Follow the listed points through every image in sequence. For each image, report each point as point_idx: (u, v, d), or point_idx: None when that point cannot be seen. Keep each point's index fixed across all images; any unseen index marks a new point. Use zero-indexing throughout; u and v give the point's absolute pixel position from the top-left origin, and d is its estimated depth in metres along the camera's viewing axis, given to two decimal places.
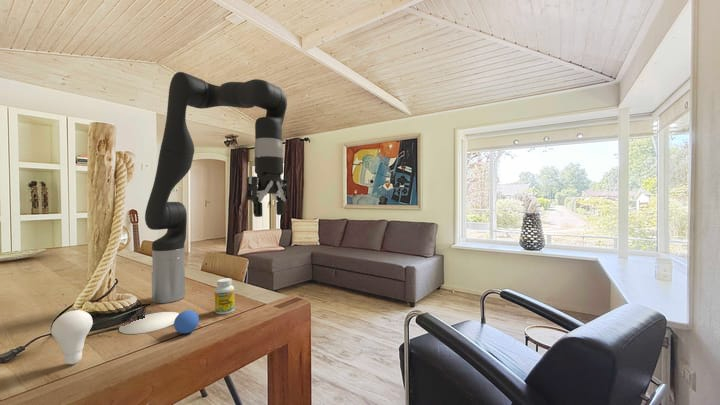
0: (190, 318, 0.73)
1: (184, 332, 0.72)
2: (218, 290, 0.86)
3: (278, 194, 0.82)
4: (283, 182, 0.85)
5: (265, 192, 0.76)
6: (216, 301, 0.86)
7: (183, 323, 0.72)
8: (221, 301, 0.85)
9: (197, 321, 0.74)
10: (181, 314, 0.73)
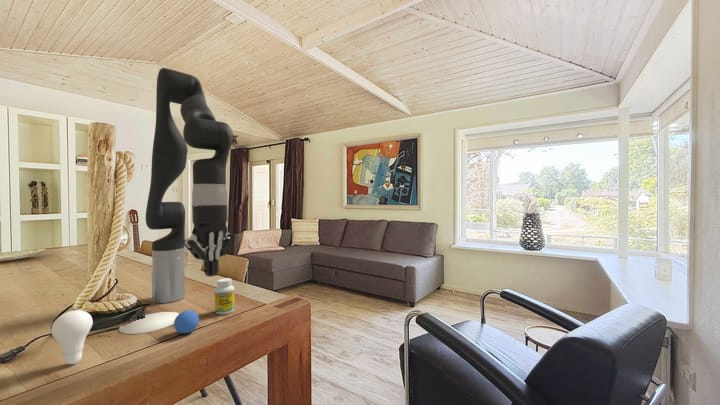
0: (190, 318, 0.73)
1: (184, 332, 0.72)
2: (218, 290, 0.86)
3: (214, 247, 0.70)
4: (228, 235, 0.74)
5: (211, 248, 0.68)
6: (216, 301, 0.86)
7: (183, 323, 0.72)
8: (221, 301, 0.85)
9: (197, 321, 0.74)
10: (181, 314, 0.73)
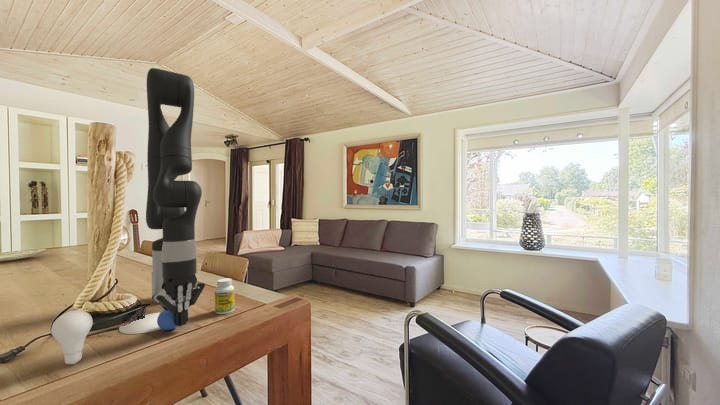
0: None
1: (167, 316, 0.74)
2: (218, 290, 0.86)
3: (183, 298, 0.75)
4: (197, 285, 0.79)
5: (180, 300, 0.73)
6: (216, 301, 0.86)
7: (158, 316, 0.75)
8: (221, 301, 0.85)
9: None
10: None
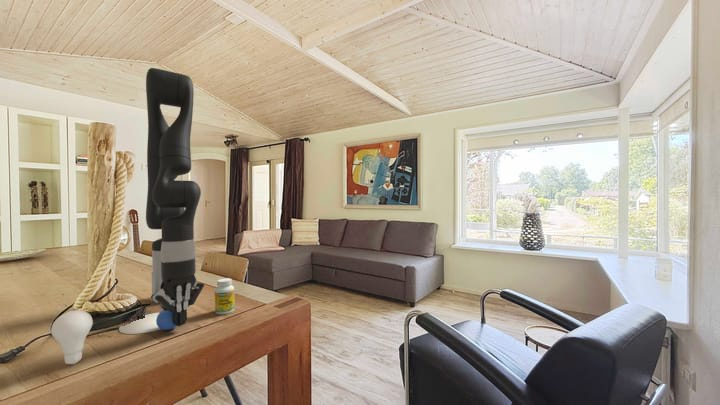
0: None
1: (166, 315, 0.74)
2: (218, 290, 0.86)
3: (182, 298, 0.75)
4: (197, 285, 0.79)
5: (179, 300, 0.73)
6: (216, 301, 0.86)
7: (157, 316, 0.75)
8: (221, 301, 0.85)
9: None
10: None
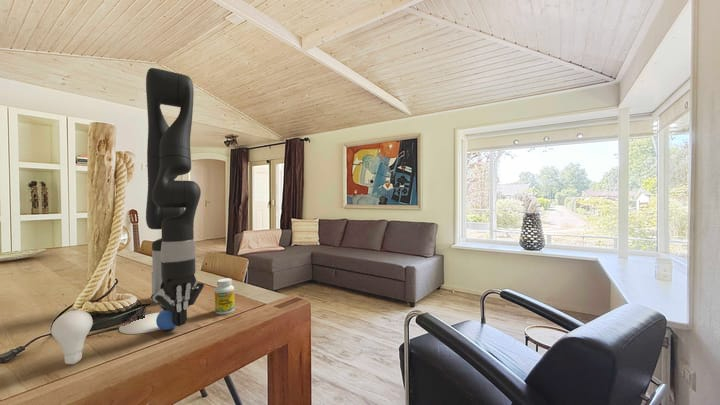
0: None
1: (166, 315, 0.74)
2: (218, 290, 0.86)
3: (182, 298, 0.75)
4: (196, 285, 0.79)
5: (179, 300, 0.73)
6: (216, 301, 0.86)
7: (157, 316, 0.75)
8: (221, 301, 0.85)
9: None
10: None
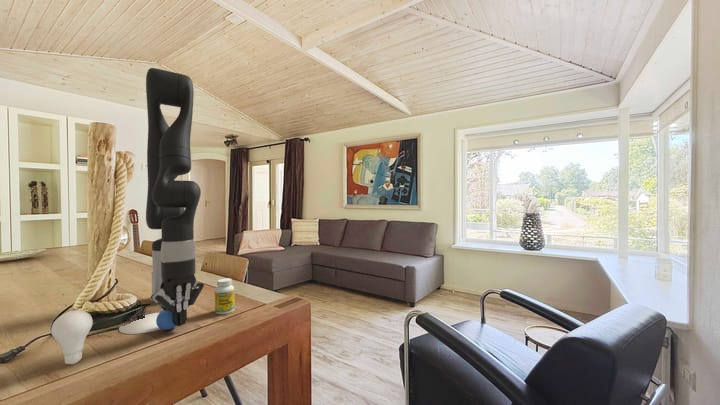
0: None
1: (166, 315, 0.74)
2: (218, 290, 0.86)
3: (182, 298, 0.75)
4: (196, 285, 0.79)
5: (179, 300, 0.73)
6: (216, 301, 0.86)
7: (157, 316, 0.75)
8: (221, 301, 0.85)
9: None
10: None
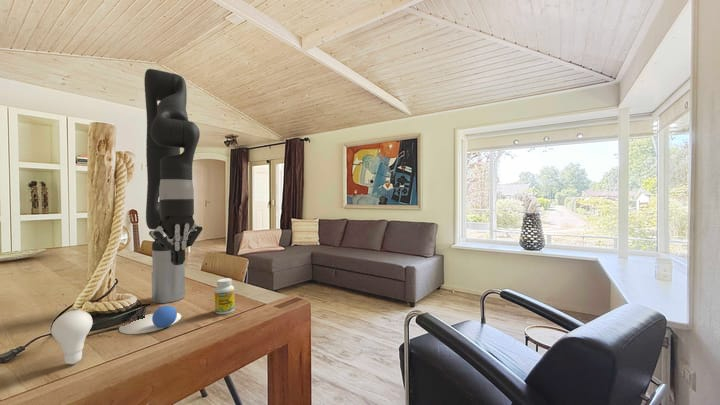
0: None
1: (158, 309, 0.77)
2: (218, 290, 0.86)
3: (180, 238, 0.75)
4: (195, 227, 0.79)
5: (177, 239, 0.73)
6: (216, 301, 0.86)
7: (152, 317, 0.76)
8: (221, 301, 0.85)
9: None
10: None
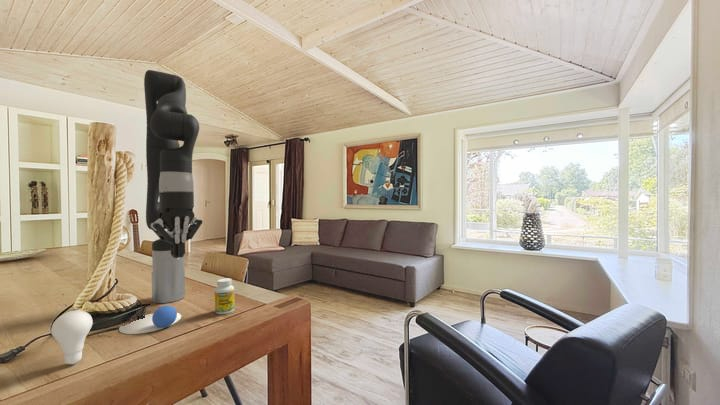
0: None
1: (158, 309, 0.77)
2: (218, 290, 0.86)
3: (180, 231, 0.75)
4: (195, 221, 0.79)
5: (177, 232, 0.73)
6: (216, 301, 0.86)
7: (152, 317, 0.76)
8: (221, 301, 0.85)
9: None
10: None
